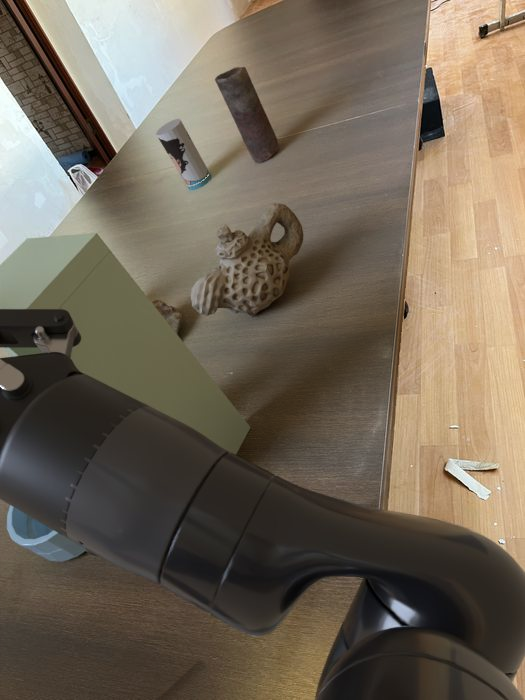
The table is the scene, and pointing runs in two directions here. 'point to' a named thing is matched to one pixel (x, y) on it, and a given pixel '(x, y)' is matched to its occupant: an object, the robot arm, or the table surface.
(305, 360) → the table surface
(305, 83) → the table surface
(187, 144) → the grey printed cylinder
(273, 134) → the dark brown cylinder
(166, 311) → the decorative stone
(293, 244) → the teapot
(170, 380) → the stand
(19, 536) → the bowl
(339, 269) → the table surface
